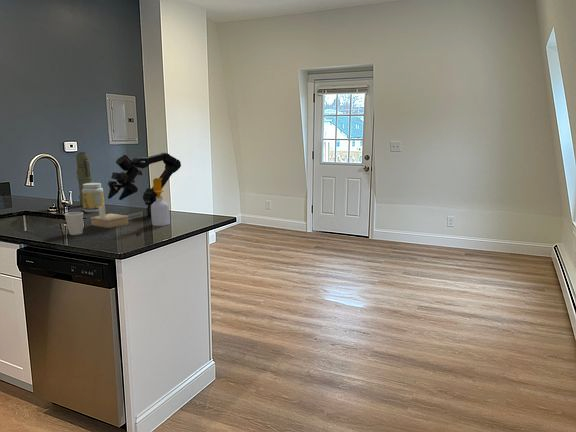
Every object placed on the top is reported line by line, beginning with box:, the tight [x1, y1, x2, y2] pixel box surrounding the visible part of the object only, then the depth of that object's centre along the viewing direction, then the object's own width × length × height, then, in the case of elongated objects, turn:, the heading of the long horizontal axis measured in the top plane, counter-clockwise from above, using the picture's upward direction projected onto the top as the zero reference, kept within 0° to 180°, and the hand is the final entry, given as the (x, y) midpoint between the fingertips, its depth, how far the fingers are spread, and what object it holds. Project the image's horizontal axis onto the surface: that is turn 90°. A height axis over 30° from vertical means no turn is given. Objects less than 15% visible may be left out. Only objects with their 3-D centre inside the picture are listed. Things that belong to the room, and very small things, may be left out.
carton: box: [90, 217, 129, 229], centre depth 230 cm, size 12×14×4 cm
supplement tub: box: [82, 182, 105, 213], centre depth 270 cm, size 12×12×17 cm
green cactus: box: [75, 151, 93, 207], centre depth 288 cm, size 9×12×35 cm
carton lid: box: [90, 206, 129, 221], centre depth 229 cm, size 12×14×7 cm
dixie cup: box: [64, 211, 84, 236], centre depth 210 cm, size 8×8×10 cm
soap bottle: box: [150, 177, 171, 227], centre depth 227 cm, size 9×9×25 cm
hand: (114, 199), depth 230 cm, fingers open, 9 cm apart
